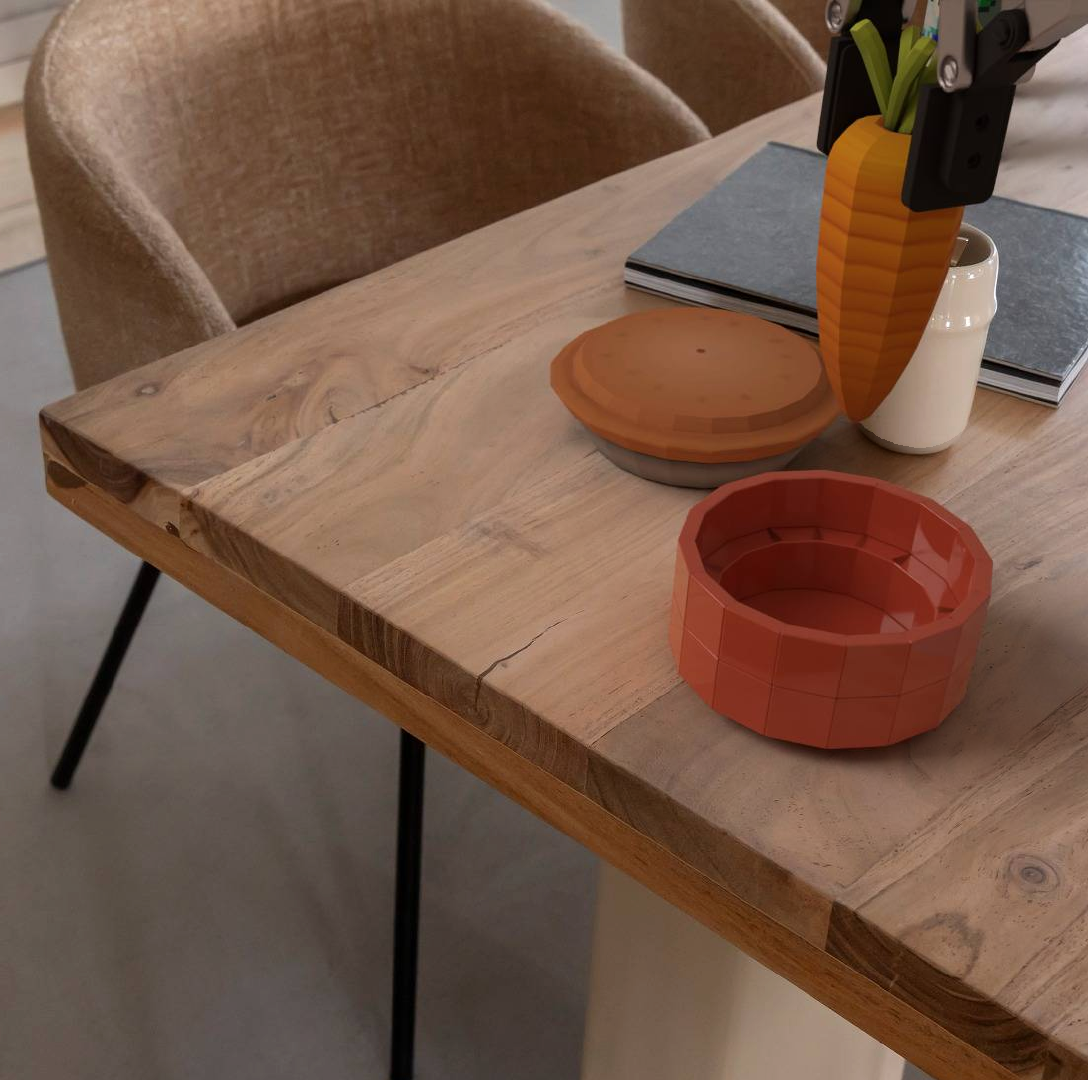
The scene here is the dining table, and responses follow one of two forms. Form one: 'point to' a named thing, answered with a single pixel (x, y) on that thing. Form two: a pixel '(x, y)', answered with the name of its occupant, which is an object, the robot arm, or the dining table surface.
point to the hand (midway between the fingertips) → (900, 171)
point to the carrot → (879, 235)
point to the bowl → (827, 607)
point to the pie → (695, 394)
